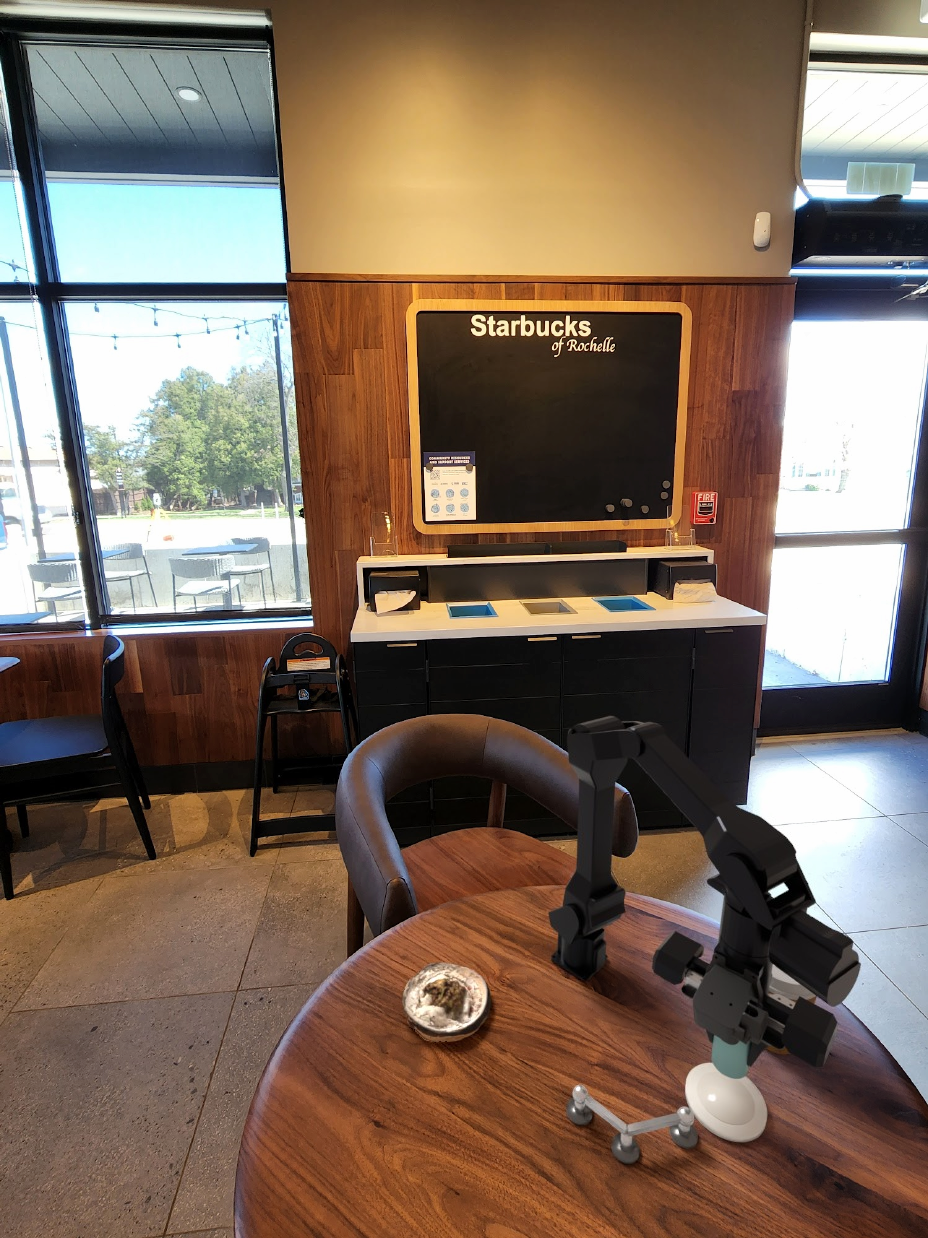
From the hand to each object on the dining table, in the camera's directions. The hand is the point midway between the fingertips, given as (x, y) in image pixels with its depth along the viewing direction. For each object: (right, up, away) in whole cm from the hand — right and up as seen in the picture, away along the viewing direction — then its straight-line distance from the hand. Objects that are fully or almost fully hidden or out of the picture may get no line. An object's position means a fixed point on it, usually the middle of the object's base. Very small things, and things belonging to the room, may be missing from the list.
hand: (731, 1052), depth 73 cm
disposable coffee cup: (+10, -5, +11) cm, 16 cm away
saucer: (0, -7, +2) cm, 8 cm away
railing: (-12, -8, -1) cm, 14 cm away
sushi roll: (-34, -4, +15) cm, 37 cm away
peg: (0, -1, 0) cm, 2 cm away
